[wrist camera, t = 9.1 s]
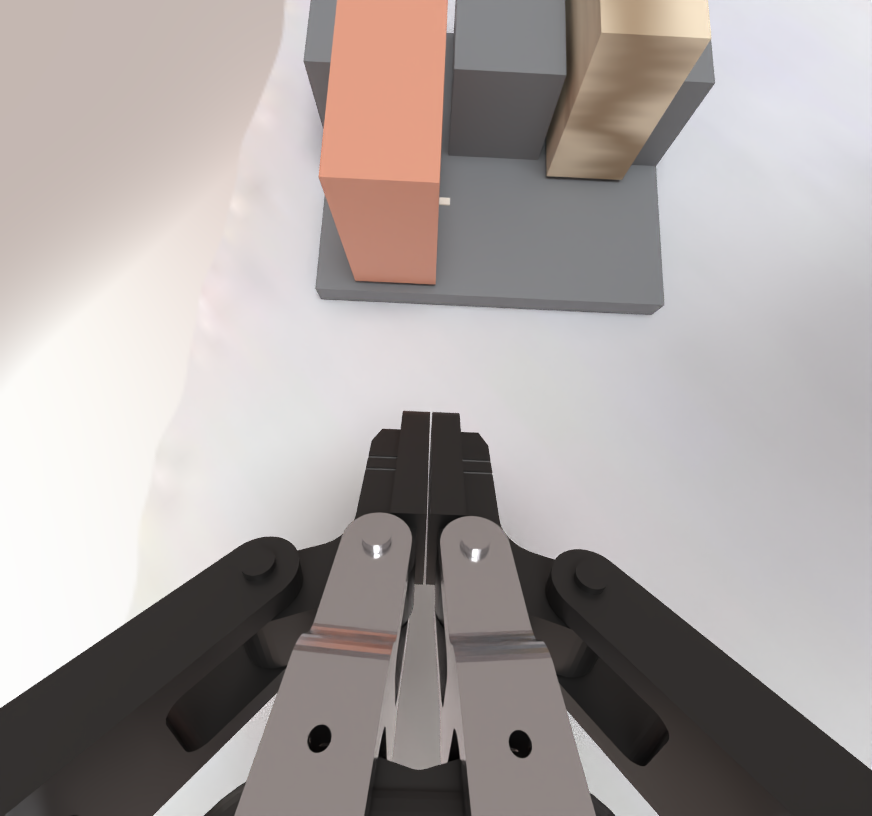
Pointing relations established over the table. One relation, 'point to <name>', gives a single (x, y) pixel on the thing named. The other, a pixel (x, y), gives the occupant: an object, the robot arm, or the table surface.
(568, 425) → the table surface
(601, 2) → the ash plug
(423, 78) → the terracotta plug
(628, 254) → the grey slotted tray
